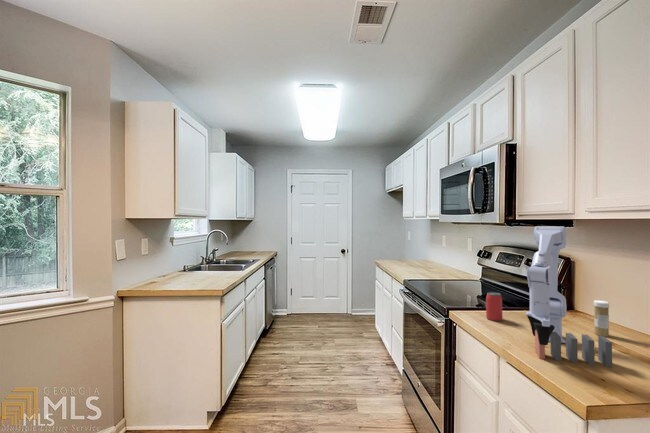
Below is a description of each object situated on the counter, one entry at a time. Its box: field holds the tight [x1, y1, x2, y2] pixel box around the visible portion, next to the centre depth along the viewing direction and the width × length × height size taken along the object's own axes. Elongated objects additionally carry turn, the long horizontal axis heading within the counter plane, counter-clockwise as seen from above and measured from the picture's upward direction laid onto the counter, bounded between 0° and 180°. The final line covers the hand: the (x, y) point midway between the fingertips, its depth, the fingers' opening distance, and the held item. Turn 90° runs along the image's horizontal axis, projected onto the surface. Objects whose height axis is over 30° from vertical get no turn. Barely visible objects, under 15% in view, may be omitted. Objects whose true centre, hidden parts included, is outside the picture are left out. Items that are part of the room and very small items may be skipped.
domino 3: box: [581, 334, 596, 366], centre depth 103 cm, size 2×5×8 cm, turn 160°
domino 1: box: [549, 332, 562, 362], centre depth 106 cm, size 2×5×8 cm, turn 160°
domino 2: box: [565, 332, 579, 364], centre depth 104 cm, size 2×5×8 cm, turn 159°
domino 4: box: [597, 335, 613, 368], centre depth 101 cm, size 2×5×8 cm, turn 160°
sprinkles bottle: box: [593, 299, 610, 338], centre depth 124 cm, size 5×5×14 cm
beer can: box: [485, 291, 503, 322], centre depth 144 cm, size 7×7×12 cm
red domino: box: [534, 330, 546, 360], centre depth 107 cm, size 2×5×8 cm, turn 159°
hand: (540, 340), depth 107 cm, fingers open, 7 cm apart
